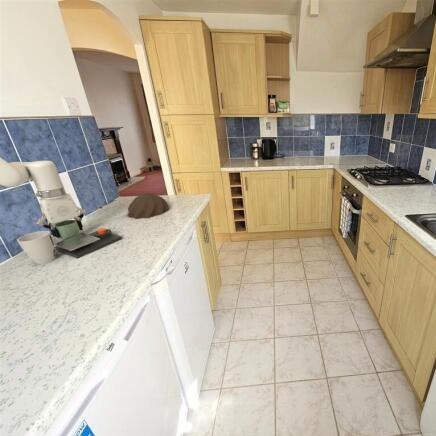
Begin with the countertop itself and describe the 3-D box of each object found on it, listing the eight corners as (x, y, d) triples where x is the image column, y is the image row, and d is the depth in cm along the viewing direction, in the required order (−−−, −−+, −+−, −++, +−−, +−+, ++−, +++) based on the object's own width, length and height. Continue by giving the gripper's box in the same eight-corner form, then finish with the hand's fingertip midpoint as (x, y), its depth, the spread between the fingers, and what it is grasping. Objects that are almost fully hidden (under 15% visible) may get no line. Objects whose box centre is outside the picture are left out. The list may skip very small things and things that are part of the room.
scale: (56, 249, 95) (52, 243, 94) (101, 232, 108) (99, 226, 107) (77, 258, 88) (74, 251, 87) (123, 239, 102) (121, 232, 100)
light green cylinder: (55, 236, 101) (49, 224, 99) (75, 230, 107) (70, 218, 105) (64, 240, 98) (58, 228, 96) (84, 233, 104) (79, 221, 102)
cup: (64, 257, 89) (53, 233, 85) (35, 269, 83) (21, 243, 79) (56, 252, 93) (44, 228, 89) (27, 262, 87) (13, 238, 83)
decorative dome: (138, 206, 138) (133, 189, 134) (174, 204, 140) (170, 187, 136) (120, 219, 121) (114, 201, 117) (161, 217, 122) (156, 198, 118)
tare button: (96, 233, 101) (95, 230, 100) (104, 230, 103) (103, 227, 103) (100, 235, 100) (99, 231, 99) (108, 232, 102) (107, 228, 101)
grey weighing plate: (53, 244, 92) (53, 244, 92) (83, 233, 101) (83, 233, 100) (70, 251, 87) (69, 250, 87) (100, 239, 96) (99, 238, 95)
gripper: (27, 200, 86) (47, 244, 93) (83, 188, 101) (97, 227, 108) (18, 198, 90) (38, 240, 96) (73, 186, 104) (87, 224, 111)
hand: (69, 233), depth 102 cm, fingers closed on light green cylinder, 7 cm apart
